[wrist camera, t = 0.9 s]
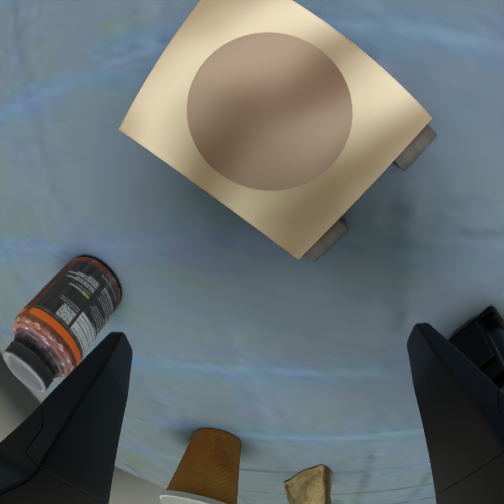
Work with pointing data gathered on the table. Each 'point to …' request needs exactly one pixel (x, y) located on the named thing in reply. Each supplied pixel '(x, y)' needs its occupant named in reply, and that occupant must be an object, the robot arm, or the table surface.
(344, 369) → the table surface
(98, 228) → the table surface
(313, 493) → the rock
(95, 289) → the supplement bottle
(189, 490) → the disposable coffee cup
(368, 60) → the board
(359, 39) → the table surface
